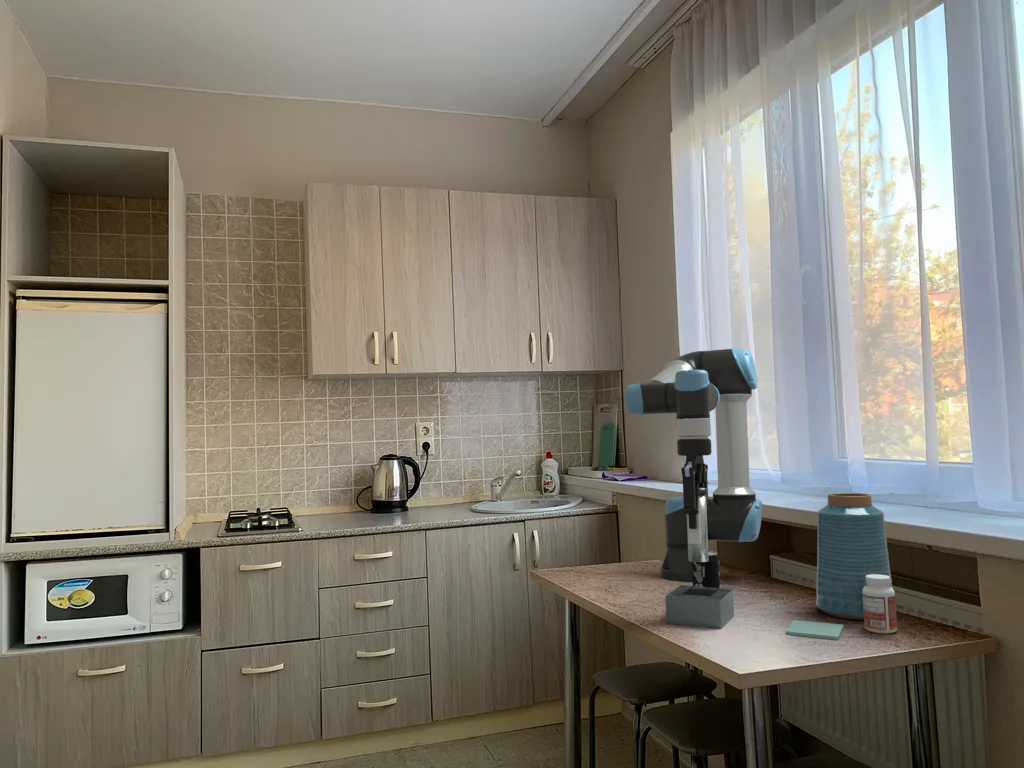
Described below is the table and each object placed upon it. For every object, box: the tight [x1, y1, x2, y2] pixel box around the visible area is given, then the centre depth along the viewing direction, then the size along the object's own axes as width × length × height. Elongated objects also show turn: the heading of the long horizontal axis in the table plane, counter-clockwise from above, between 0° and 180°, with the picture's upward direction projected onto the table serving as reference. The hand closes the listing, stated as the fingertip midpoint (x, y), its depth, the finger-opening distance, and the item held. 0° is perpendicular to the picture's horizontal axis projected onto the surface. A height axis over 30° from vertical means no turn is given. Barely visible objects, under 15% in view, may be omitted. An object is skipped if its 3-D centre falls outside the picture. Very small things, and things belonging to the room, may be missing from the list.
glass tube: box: [687, 487, 709, 562], centre depth 171 cm, size 5×5×16 cm
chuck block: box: [665, 584, 735, 630], centre depth 170 cm, size 12×12×6 cm
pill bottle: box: [862, 574, 898, 635], centre depth 158 cm, size 6×6×11 cm
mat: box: [785, 619, 844, 641], centre depth 158 cm, size 10×10×1 cm
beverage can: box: [692, 550, 721, 588], centre depth 187 cm, size 7×7×12 cm
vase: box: [815, 492, 894, 621], centre depth 174 cm, size 16×16×27 cm
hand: (697, 541), depth 171 cm, fingers closed on glass tube, 4 cm apart
